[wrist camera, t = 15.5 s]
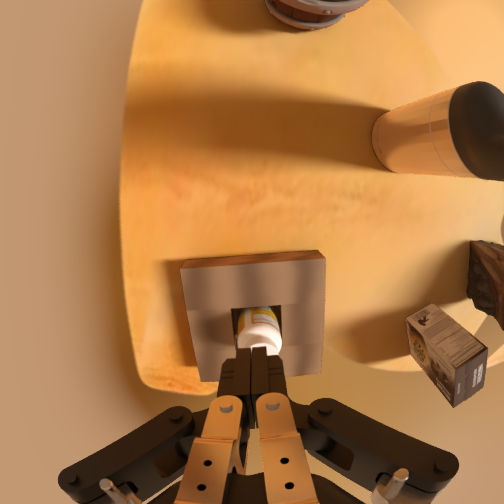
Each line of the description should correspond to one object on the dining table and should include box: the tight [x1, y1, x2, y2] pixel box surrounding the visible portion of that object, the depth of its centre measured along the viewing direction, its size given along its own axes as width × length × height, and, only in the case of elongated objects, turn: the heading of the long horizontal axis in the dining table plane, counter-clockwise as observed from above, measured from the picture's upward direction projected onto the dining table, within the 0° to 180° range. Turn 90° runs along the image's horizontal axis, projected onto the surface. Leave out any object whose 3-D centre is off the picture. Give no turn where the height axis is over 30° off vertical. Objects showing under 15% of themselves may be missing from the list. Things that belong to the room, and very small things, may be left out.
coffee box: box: [405, 303, 488, 408], centre depth 35 cm, size 9×6×16 cm
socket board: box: [180, 250, 326, 382], centre depth 39 cm, size 18×18×4 cm
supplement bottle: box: [237, 306, 282, 356], centre depth 35 cm, size 5×5×10 cm
